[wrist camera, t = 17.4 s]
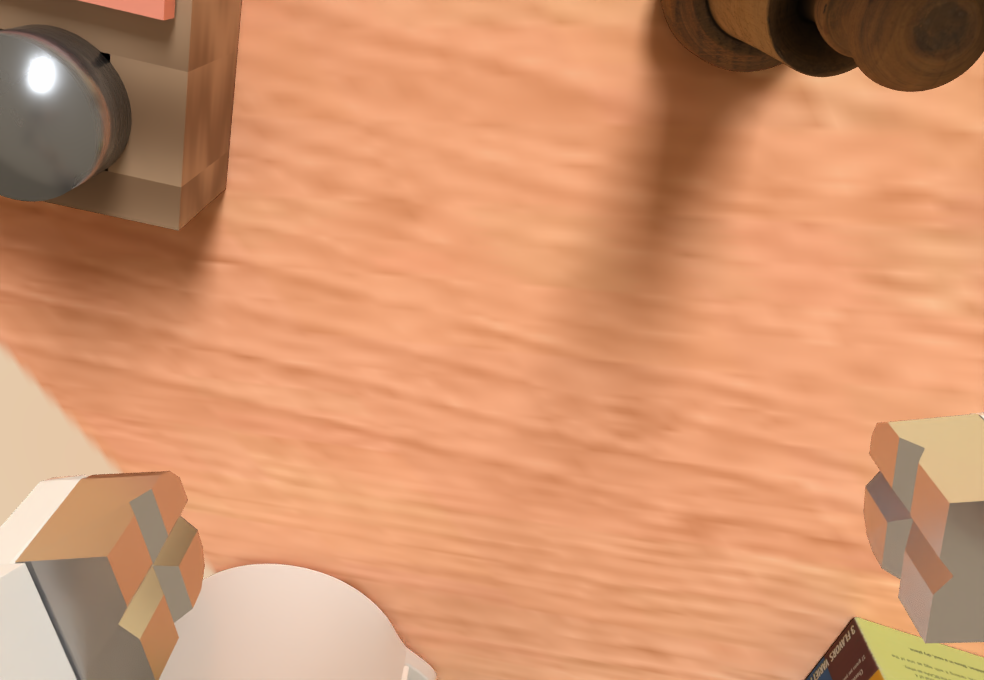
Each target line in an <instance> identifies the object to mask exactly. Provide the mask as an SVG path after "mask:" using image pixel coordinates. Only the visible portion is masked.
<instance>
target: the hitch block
mask: <svg viewBox="0 0 984 680" xmlns="http://www.w3.org/2000/svg"><path fill="white" fill-rule="evenodd" d="M241 3H242V0H175V15H174V18H173V19H168V20H159V19H155V18H151V17H147V16H143V15H138V14H134V13H130V12H126V11H121V10H117V9H113V8H109V7H104V6H100V5H96V4H92V3H87V2H83V1H79V0H0V30H4V29H9V28H14V27H19V26H25V25H34V24H40V25H50V26H55V27H59V28H62V29H65V30H68V31H70V32H72V33H75V34H77V35H78V36H80V37H82V38H83V39H85V40H87V41H88V42H89V43H91V44H92V45H93V46H95V47H96V48H97V49H98V50H99V51H100V52H103V53H108V54H110V63H111V64H112V65H113V67H114V68H115V70H116V71H117V73H118V74H119V76H120V78H121V80H122V82H123V84H124V86H125V89H126V91H127V94H128V97H129V101H130V106H131V113H132V125H131V133H130V137H129V140H128V143H127V145H126V148H125V150H124V151H123V153H122V154H121V156H120V157H119V158H118V160H117V161H116V162H115V163H114V164H113V165H111V166H110V167H109V168H108V169H106V170H104V171H103V172H101V173H99V174H97V175H96V176H94V177H92V178H91V179H89V180H87V181H85V182H84V183H82V184H80V185H79V186H77V187H75V188H73V189H72V190H70V191H68V192H67V193H65V194H63V195H61V196H58V197H56V198H53V199H49V200H44V201H45V202H49V203H54V204H58V205H63V206H68V207H72V208H77V209H81V210H86V211H91V212H95V213H100V214H104V215H109V216H114V217H118V218H123V219H127V220H132V221H137V222H141V223H146V224H150V225H155V226H160V227H164V228H169V229H173V230H178V231H179V230H180V229H181V228H182V227H183V226H184V225H185V224H187V223H188V222H189V221H190V220H191V219H192V218H193V217H194V216H196V215H197V214H198V213H199V212H200V211H201V210H202V209H203V208H205V207H206V206H207V205H208V204H209V203H210V202H211V201H212V200H213V199H215V198H216V197H217V196H218V195H219V194H220V193H221V192H222V191H224V190H225V189H226V181H227V169H228V158H229V146H230V134H231V122H232V110H233V98H234V86H235V74H236V63H237V51H238V39H239V27H240V15H241Z"/></svg>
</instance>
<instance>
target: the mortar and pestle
mask: <svg viewBox="0 0 984 680" xmlns="http://www.w3.org/2000/svg"><path fill="white" fill-rule="evenodd" d="M661 1H662V7H663V11H664V15H665V18H666V21H667V23H668V25H669V27H670V29H671V31H672V32H673V34H674V35H675V37H676V38H677V39H678V41H679V42H680V43H681V44H682V45H683V46H684V47H685V48H687V49H688V50H689V51H690V52H692V53H693V54H695V55H697V56H698V57H700V58H701V59H703V60H704V61H706V62H708V63H710V64H712V65H714V66H717V67H720V68H723V69H727V70H731V71H739V72H751V71H759V70H764V69H768V68H771V67H774V66H777V65H779V64H782V63H784V64H785V65H787V66H789V67H791V68H792V69H794V70H796V71H798V72H800V73H803V74H806V75H809V76H815V77H829V76H835V75H839V74H842V73H845V72H848V71H850V70H852V69H854V68H856V67H859V68H860V70H861V71H862V72H863V73H864V74H865V75H866V76H867V77H868V78H870V79H871V80H872V81H874V82H876V83H878V84H879V85H881V86H884V87H887V88H890V89H893V90H897V91H906V92H915V91H924V90H929V89H933V88H936V87H939V86H942V85H944V84H946V83H948V82H950V81H952V80H954V79H955V78H957V77H959V76H960V75H962V74H963V73H964V72H965V71H967V70H968V69H969V68H970V67H971V66H972V65H973V64H974V63H975V62H976V61H977V60H978V58H979V57H980V56H981V54H982V53H983V52H984V0H661Z"/></svg>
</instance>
